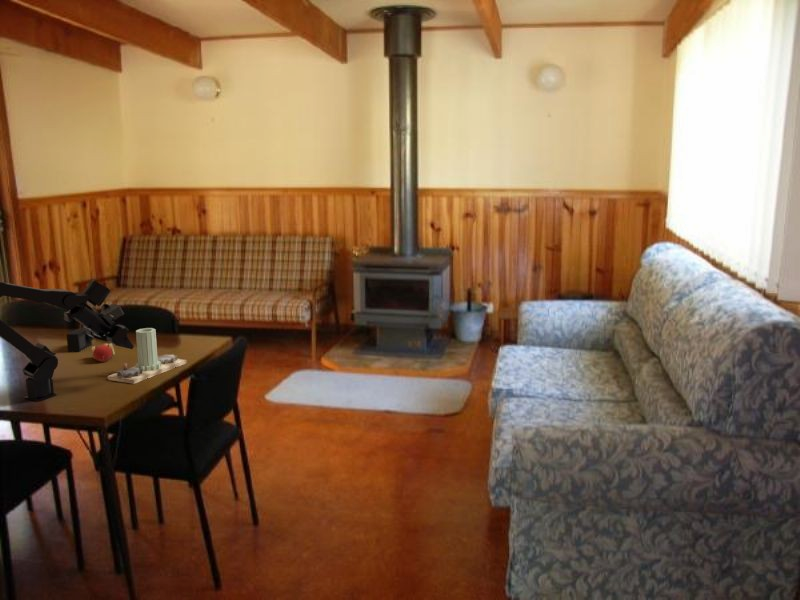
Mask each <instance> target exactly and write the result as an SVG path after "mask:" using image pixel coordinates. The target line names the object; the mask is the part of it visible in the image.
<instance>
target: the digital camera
mask: <svg viewBox="0 0 800 600" xmlns="http://www.w3.org/2000/svg"><path fill="white" fill-rule="evenodd" d="M93 335H94V334H93ZM93 340H94V338H93V337H91V336H89V335H88V334H86V328H84V327H79V328H76V329H74V330H73V331H70V332H69V333H67V334H66V344H67V352H68V353H80V352H82V351H83V349H84V350H85V348H86V349H87V347H88V348H89V347H92V346H93ZM81 350H82V351H81ZM72 351H73V352H72Z"/></svg>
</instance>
